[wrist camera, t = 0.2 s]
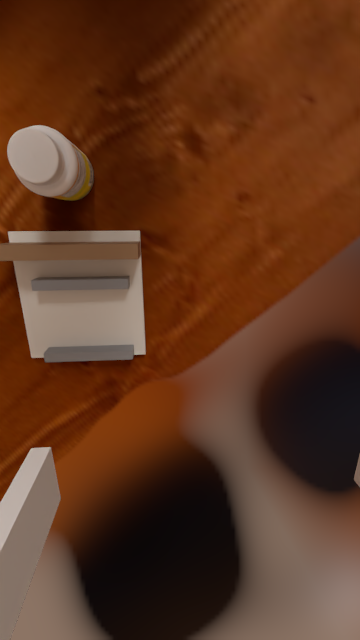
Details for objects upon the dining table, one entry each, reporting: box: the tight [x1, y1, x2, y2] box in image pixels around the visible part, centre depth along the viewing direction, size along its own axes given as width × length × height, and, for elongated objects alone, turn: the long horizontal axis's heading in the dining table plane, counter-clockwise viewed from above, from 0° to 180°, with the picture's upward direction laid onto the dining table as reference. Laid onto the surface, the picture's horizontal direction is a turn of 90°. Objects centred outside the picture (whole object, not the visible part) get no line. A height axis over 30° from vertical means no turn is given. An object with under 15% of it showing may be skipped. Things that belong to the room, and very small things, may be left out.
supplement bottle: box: [7, 125, 94, 201], centre depth 28 cm, size 6×6×10 cm
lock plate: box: [0, 230, 146, 362], centre depth 35 cm, size 16×15×5 cm
